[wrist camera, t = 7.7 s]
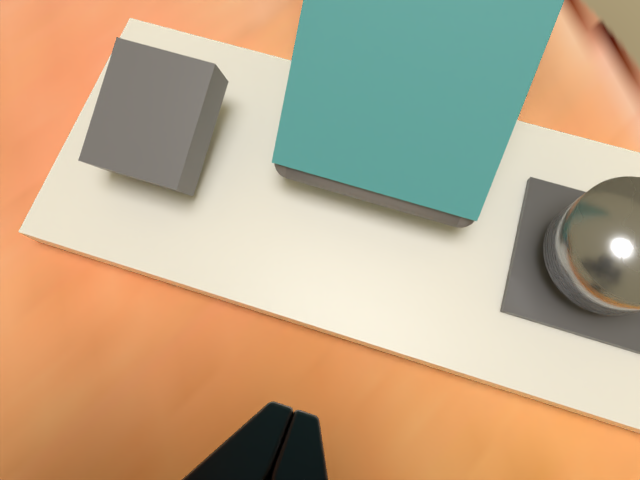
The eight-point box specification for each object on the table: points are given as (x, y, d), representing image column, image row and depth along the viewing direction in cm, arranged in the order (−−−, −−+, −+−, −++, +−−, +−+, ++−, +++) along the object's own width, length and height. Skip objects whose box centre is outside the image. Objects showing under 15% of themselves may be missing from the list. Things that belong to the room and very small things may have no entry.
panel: (663, 441, 17) (695, 446, 15) (36, 241, 19) (13, 229, 17) (690, 184, 19) (719, 168, 18) (140, 37, 22) (127, 12, 20)
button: (658, 332, 15) (705, 323, 14) (533, 295, 16) (561, 282, 14) (670, 219, 17) (716, 197, 15) (553, 186, 17) (583, 161, 15)
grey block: (193, 196, 18) (176, 189, 16) (103, 169, 18) (78, 160, 16) (228, 81, 18) (215, 63, 16) (138, 57, 18) (116, 37, 16)
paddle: (473, 239, 16) (673, -266, 11) (265, 178, 16) (362, -322, 11) (469, 223, 17) (645, -230, 12) (277, 168, 18) (369, -282, 13)
